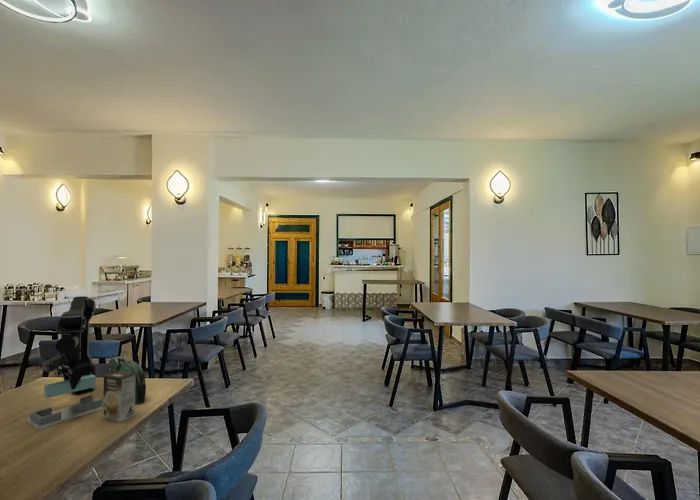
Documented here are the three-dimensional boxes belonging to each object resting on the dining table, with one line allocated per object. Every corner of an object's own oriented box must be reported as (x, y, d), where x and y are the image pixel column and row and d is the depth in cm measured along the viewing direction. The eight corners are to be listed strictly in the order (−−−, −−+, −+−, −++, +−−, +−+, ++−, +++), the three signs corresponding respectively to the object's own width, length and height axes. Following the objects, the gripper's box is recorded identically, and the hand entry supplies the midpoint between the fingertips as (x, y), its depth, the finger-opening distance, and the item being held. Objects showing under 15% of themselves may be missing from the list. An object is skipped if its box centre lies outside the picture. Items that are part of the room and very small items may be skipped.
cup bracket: (95, 400, 147) (95, 393, 147) (109, 406, 141) (109, 398, 141) (27, 421, 128) (27, 413, 128) (39, 429, 122) (39, 420, 122)
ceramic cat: (106, 397, 150) (107, 350, 151) (122, 392, 156) (122, 346, 157) (135, 406, 141) (135, 356, 142) (150, 400, 147) (151, 352, 147)
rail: (92, 384, 141) (92, 374, 142) (95, 386, 139) (95, 376, 139) (43, 395, 130) (44, 384, 130) (45, 398, 128) (46, 387, 128)
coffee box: (101, 419, 130) (102, 375, 130) (118, 412, 136) (118, 370, 136) (120, 423, 127) (120, 378, 127) (136, 415, 133) (136, 372, 133)
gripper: (34, 348, 133) (33, 390, 133) (56, 355, 123) (55, 400, 123) (69, 342, 142) (69, 381, 142) (92, 348, 133) (91, 390, 133)
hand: (70, 387), depth 135 cm, fingers closed on rail, 4 cm apart
